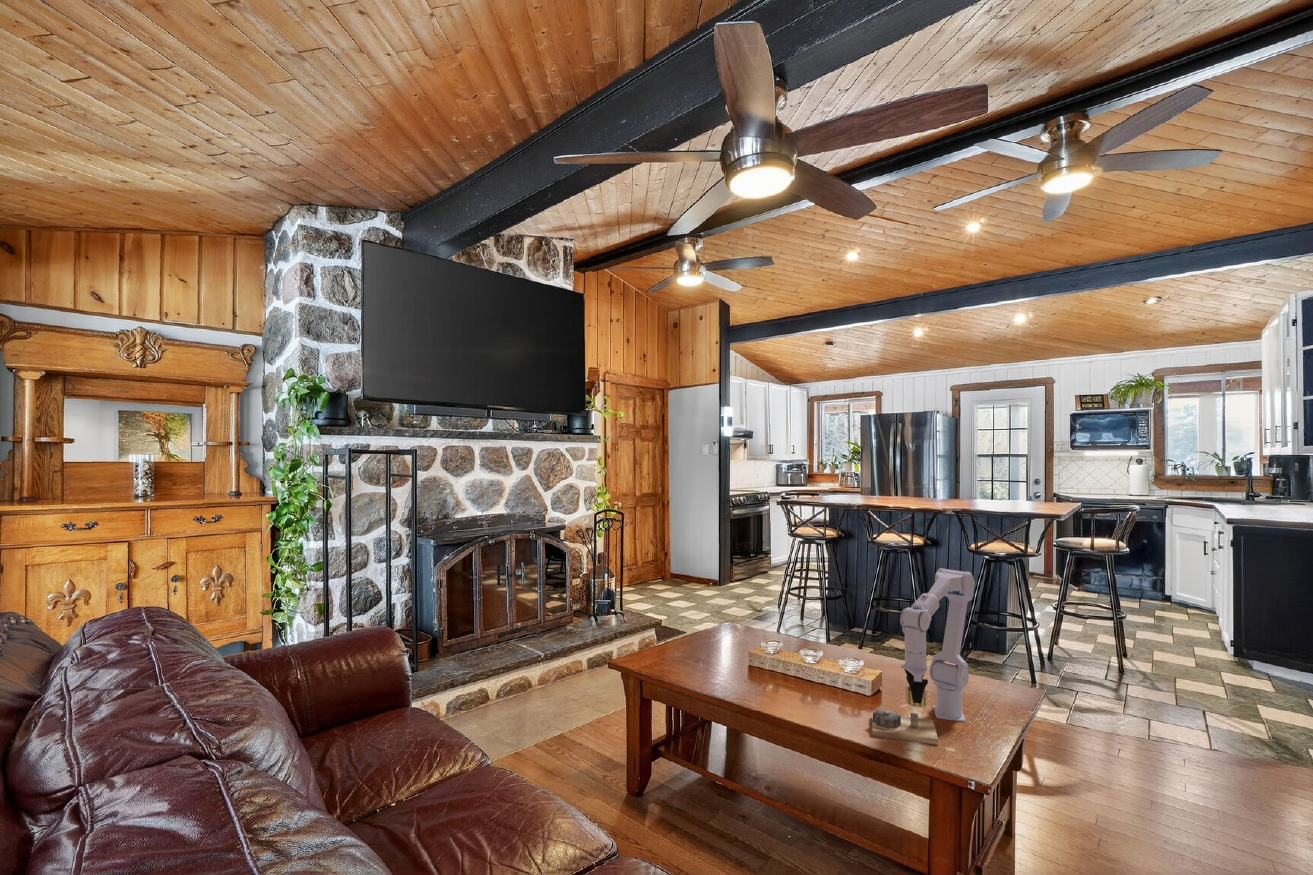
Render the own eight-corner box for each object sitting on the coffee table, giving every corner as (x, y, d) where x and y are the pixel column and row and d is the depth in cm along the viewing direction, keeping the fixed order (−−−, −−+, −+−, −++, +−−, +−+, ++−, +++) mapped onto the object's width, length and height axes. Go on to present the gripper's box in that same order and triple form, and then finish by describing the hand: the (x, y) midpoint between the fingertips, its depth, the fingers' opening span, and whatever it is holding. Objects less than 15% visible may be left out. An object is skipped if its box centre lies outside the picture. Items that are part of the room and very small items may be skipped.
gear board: (871, 717, 184) (871, 700, 184) (933, 725, 179) (932, 707, 179) (872, 735, 172) (872, 717, 172) (938, 744, 166) (937, 726, 166)
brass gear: (905, 698, 178) (904, 684, 178) (926, 701, 176) (925, 687, 176) (906, 706, 173) (906, 691, 173) (928, 708, 171) (928, 694, 171)
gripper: (899, 642, 183) (899, 687, 183) (902, 656, 169) (902, 706, 169) (924, 644, 181) (925, 690, 180) (929, 659, 167) (930, 709, 167)
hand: (916, 698), depth 174 cm, fingers closed on brass gear, 6 cm apart
